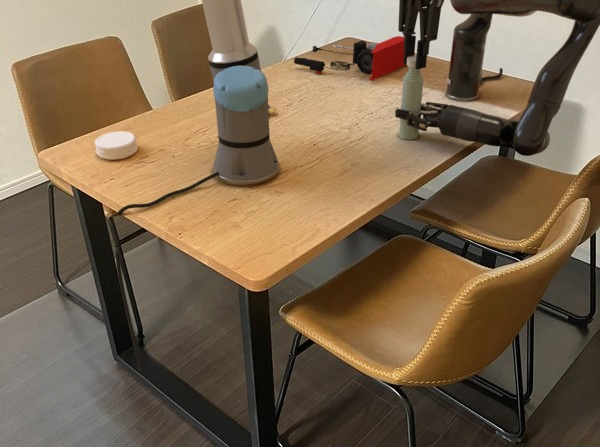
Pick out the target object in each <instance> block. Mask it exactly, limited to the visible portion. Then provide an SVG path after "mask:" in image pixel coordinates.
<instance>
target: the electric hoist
mask: <svg viewBox="0 0 600 447" xmlns="http://www.w3.org/2000/svg"><path fill="white" fill-rule="evenodd" d="M403 46H404V36H403V35H402V36H401V35H397V36H393V37H391V38H388V39H386V40H384V41H382V42H375V41H371V42H370V43H369V44H368V45H367V41H365V40H359V41H357V42H354V43H353V46H349V45H345V44H344V45H341V44H332V47H333V48H338V49H339V48H341V49H343V50H347V49H349V50H352V51H353V52H352V53H344V52H338V51H333V50H328V49H323V48H320V47H318V46H316V45H312V49H311V51H312V52H313V53H316V52H318V51H325V52H330V53H337V54H342V55H346V56H347V55H348V56H352V63H351V64H350V63H349V62H347V61H340V60H334V61H330V66H329V67H328V66H326V63H325V62H324V61H322V60H316V59H311V58H306V57H294V59H293V63H294V64H295V65H298V66H303V67H308V68H309V70H311V71H314V72H315V73H316V74H319V75H321V74H323V71H324V70H325V69H330V70H334V71H340V72H341V71H344V72H345V71H350V70H351V66H354V65H357V68H358V69H359V71H360V72H361V73H363V74H365V75H368V76H370V78H369V79H368V80H369V81H371V82H373V81H375V80H377V79H379V78H381V77H384V76H385V75H387V74H390V73H392V72H394V71H396V70H398V69H401V68H402V67H405V66H407V64H403V61H404V47H403Z"/></svg>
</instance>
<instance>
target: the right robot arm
mask: <svg viewBox="0 0 600 447" xmlns="http://www.w3.org/2000/svg"><path fill="white" fill-rule="evenodd" d="M449 1H450V5H451V7H452V9H453V10H454V11H455V12H456V13H458V14H460V15H469V16H468V17H467V18H466V19H465V20H464V21H462V22H460V23H459V24H457V25H456V26H455V27H454V28H453V32H452V33H453V35H452V43H451V52H450V60H449V67H448V68H449V69H448V76H447V77H446V83H447V85H446V91H445V96H446V97H447V98H449V99H451V100H454V101H461V102H469V101H474V100H476V99H478V98H479V96H480V95H479V94H480V93H479V92H480V86H481V85H482V83H483V82H484V81H487V80H496V79H500V78H501V77H502V75H503V72H504V71H503V68H502V67H500V68H499V72H498V74H497V75H489V76H483V71H482V70H483V65H484V58H485V50H486V45H487V38H488V33H489V31H490V29H491V26H492V21H493V15H499V16H506V17H516V18H517V17H519V18H521V17H529V16H532V15H534V14H535V13H537V12H543V13H548V14H553V15H556V16H559V17H562V18H565V19H569V20H572V21H574V22H573V26H572V28H571V31H570V33H569V35H568V37H567V39H566V40H565V42H564V43H563V44H562V45H561V47H560V48H559V49H558V50H557V51H556V52H555V53H554V54H553V55H552V56H551V57H550V58H549V60H547V61H546V62H545V63H544V65H543V67H541V69H540V70H539V72H538V74H537V76H536V78H535V80H534V83H533V86H532V89H531V91H530V93H529V94H530V95H529V98H528V101H527V103H526V106H525V108H524V109H523V112H522V113H521V116H520V117H519V120H513V119H508V118H505V117H501V116H499V115H494V114H489V113H484V112H481V111H479V110H476V109H471V108H467V107H463V106H457V105H453V104H447V103H440V102H432V101H426V102H425V103H421V111H419V112H410V111H407V110H402V109H401V108H396V109H395V111H394V116H395V118H396V119H399V120H400V119H404V120H407V125H409V126H411V127H414V128H416V129H419V131H422V132H427V131H428V128H436V129H437V128H438V130H439V132H440V134H441V135H442V136H446V137H449V138H454V139H457V140H461V141H465V142H472V143H473V142H474V143H479V144H482V145H487V146H490V147H505V148H508V149H512V150H514V151H515V152H516V153H517V154H518V155H520V156H525V157H530V156H535V155H538V154H541V153H542V152H544V151H546V149H547V148H548V147H549V145H550V143H551V134H550V132H549V128H550V126H551V123H552V121H553V119H554V117H556V115H557V114H559V111H560V108H561V107H562V104H563V101H564V98H565V96H566V93H567V90H568V88H569V85H570V83H571V80H572V78H573V76H574V73H575V71H576V70H577V68H578V66H579V63H580V62H581V60H582V58H583V56H584V55H585V53H586V51H587V49H588V48H589V46H590V44H591V42H592V41H593V39H594V37H595V34H596V33H597V31H598V29H599V28H600V0H449ZM416 116H418V117H416Z"/></svg>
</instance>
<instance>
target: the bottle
mask: <svg viewBox="0 0 600 447" xmlns="http://www.w3.org/2000/svg"><path fill="white" fill-rule="evenodd" d="M423 89H424V77H423V74H422V73H421V69H415V68H414V67H409V66H408V70H407V72H406V73H405V74H404V76H403V79H402V89H401V102H400V109H402V110H407V111H410V112H419V111H421V104H422V100H423ZM416 117H418V116H416ZM398 128H399V129H398V137H399V138H400V139H403V140H409V141H410V140H415V139H417V138H418V137H419V131H420V130H419V129H416V128H414V127H411V126H409V125H407V120H404V119H400V118H399V127H398Z"/></svg>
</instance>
